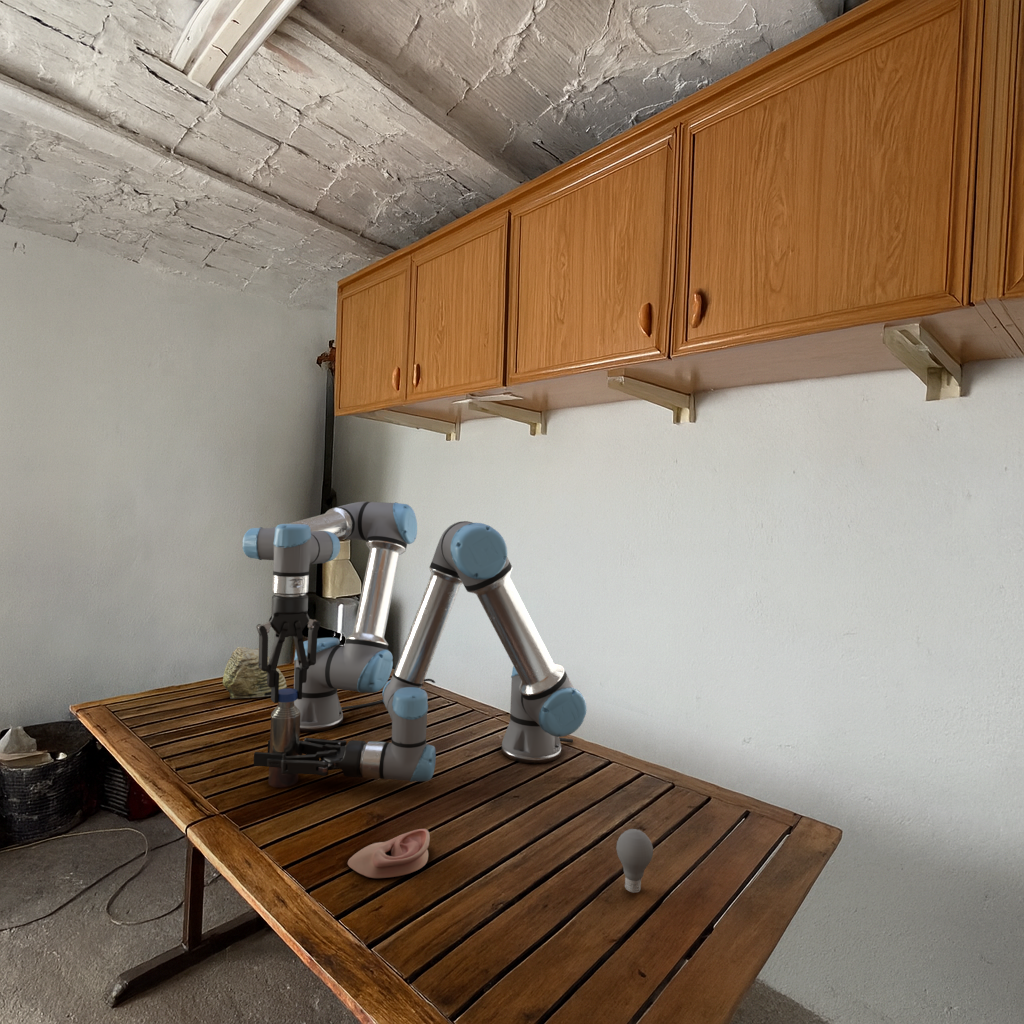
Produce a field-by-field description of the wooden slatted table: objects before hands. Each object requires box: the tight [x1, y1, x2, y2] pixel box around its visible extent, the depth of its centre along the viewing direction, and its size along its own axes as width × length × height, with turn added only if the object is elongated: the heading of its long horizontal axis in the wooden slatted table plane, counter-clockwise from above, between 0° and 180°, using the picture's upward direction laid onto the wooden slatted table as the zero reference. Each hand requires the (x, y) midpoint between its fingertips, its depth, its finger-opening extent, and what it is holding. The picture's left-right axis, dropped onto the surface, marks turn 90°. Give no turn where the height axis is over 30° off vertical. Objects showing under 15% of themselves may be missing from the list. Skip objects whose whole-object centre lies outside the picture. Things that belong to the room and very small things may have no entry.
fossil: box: [222, 646, 288, 699], centre depth 198 cm, size 9×18×15 cm, turn 132°
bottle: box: [268, 701, 301, 788], centre depth 140 cm, size 6×6×19 cm
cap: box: [278, 687, 298, 702], centre depth 140 cm, size 5×5×2 cm
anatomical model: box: [347, 828, 431, 879], centre depth 111 cm, size 13×4×12 cm
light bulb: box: [615, 828, 654, 894], centre depth 106 cm, size 6×6×10 cm
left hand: (286, 699), depth 140 cm, fingers closed on cap, 4 cm apart
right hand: (261, 752), depth 140 cm, fingers closed on bottle, 6 cm apart
